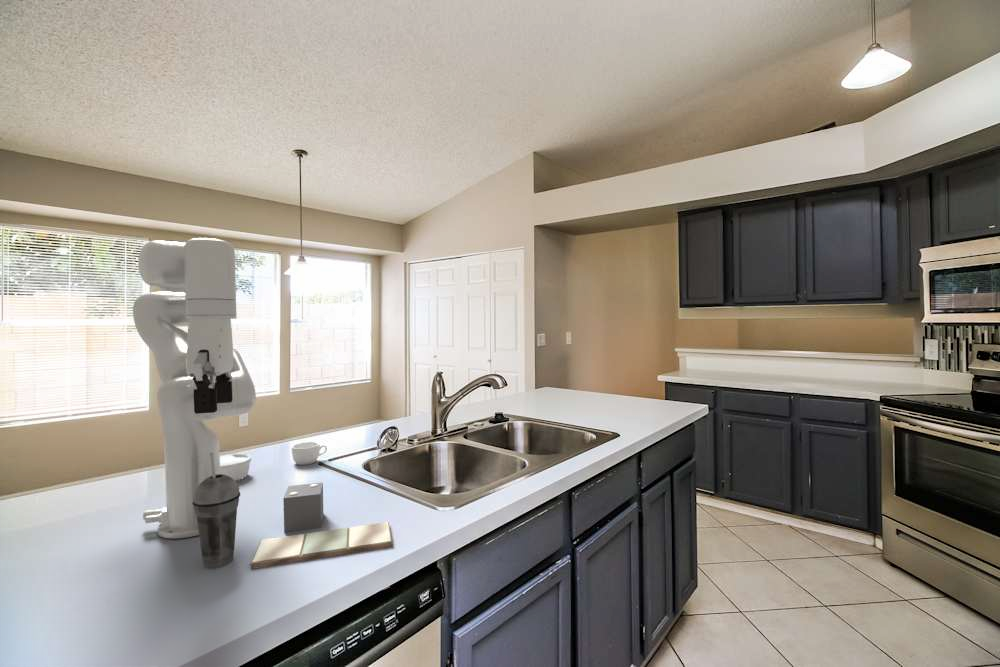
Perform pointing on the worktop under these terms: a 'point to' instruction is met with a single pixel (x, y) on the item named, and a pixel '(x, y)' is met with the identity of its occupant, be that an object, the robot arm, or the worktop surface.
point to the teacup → (306, 452)
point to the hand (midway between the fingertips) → (214, 407)
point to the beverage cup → (216, 517)
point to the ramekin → (235, 465)
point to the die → (303, 507)
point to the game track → (321, 544)
